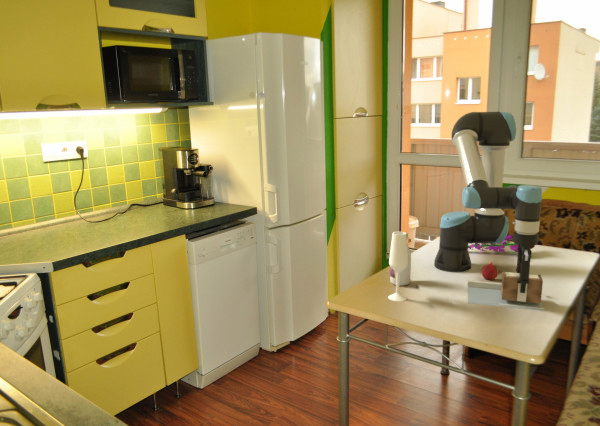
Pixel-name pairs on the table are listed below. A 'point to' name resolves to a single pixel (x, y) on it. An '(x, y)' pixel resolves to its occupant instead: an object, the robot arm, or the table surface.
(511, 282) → the frame
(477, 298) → the wall panel
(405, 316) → the table surface
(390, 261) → the champagne flute
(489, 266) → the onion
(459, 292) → the table surface
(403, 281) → the milk bottle
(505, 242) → the potted plant
